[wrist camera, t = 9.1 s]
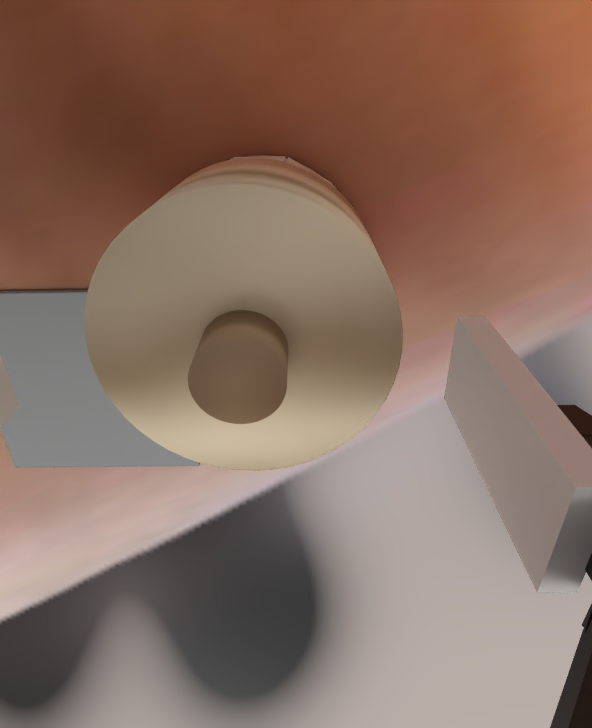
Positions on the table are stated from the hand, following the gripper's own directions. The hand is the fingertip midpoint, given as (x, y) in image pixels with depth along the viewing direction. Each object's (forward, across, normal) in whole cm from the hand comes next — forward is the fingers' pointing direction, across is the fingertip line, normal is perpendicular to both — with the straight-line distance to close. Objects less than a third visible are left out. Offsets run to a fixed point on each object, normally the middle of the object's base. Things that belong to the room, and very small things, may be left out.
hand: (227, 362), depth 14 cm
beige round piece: (+7, 0, 0) cm, 7 cm away
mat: (+12, -10, -8) cm, 18 cm away
